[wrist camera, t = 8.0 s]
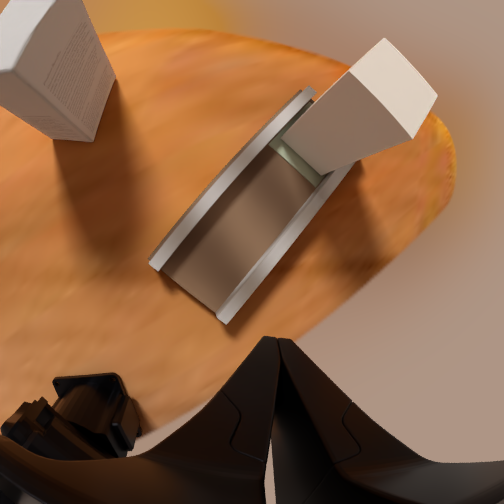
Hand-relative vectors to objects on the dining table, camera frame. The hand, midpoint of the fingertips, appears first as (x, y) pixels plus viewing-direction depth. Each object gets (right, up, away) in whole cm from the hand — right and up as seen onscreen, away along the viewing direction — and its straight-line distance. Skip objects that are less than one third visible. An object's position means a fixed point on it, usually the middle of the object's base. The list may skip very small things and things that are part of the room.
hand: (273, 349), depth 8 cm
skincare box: (-14, +14, +9) cm, 22 cm away
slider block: (+4, +11, +12) cm, 17 cm away
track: (0, +7, +12) cm, 14 cm away
